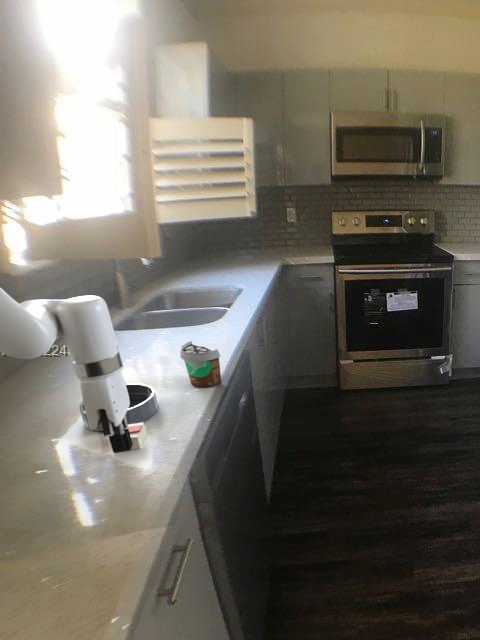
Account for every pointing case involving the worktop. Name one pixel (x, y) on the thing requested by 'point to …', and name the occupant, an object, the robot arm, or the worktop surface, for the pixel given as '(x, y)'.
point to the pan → (133, 405)
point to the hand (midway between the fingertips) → (123, 448)
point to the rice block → (137, 434)
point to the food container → (201, 365)
